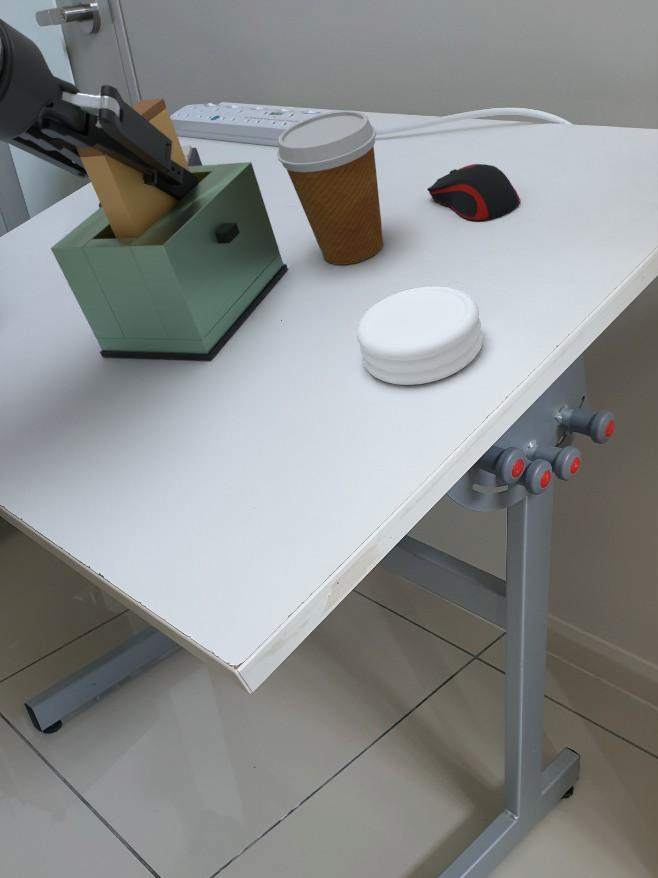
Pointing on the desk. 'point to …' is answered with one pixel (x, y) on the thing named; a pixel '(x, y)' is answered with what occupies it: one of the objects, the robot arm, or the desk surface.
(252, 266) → the toaster
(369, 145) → the disposable coffee cup
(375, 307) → the white round container
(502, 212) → the computer mouse
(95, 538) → the desk surface
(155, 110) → the toast
